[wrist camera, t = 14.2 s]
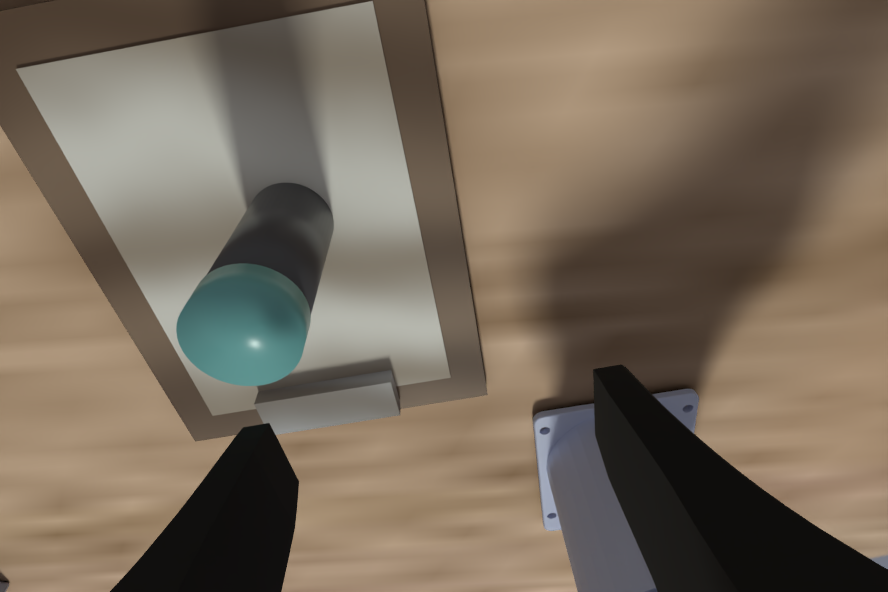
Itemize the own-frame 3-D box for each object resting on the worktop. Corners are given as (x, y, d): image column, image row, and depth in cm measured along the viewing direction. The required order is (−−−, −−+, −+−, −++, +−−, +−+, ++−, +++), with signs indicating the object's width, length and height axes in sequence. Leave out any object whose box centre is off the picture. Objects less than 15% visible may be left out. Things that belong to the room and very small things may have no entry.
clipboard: (485, 386, 25) (489, 408, 24) (199, 431, 26) (188, 456, 25) (412, -70, 15) (413, -71, 14) (-49, 20, 16) (-87, 27, 15)
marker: (344, 252, 20) (318, 376, 14) (264, 265, 20) (205, 393, 14) (322, 174, 19) (281, 278, 13) (234, 189, 19) (154, 299, 13)
